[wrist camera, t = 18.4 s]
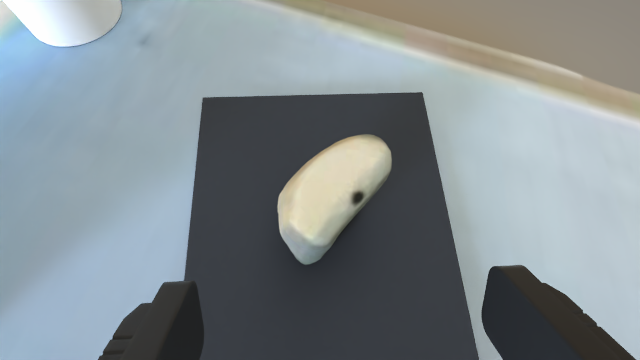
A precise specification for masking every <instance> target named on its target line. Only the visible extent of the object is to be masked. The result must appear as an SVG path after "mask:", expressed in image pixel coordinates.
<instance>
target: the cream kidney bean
mask: <svg viewBox="0 0 640 360" xmlns="http://www.w3.org/2000/svg"><path fill="white" fill-rule="evenodd" d="M391 165H392V157H391V151H390V149H389V148H388V146H387V144H386V143H385V142H384V141H383V140H382V139H381V138H379V137H377V136H375V135H370V134H364V135H357V136H352V137H348V138H346V139H343V140H340V141H338V142H336V143H334V144H333V145H331V146H330V147H328V148H326V149H325V150H323V151H321V152H320V153H319V154H317V155H316V156H314V157H313V158H312V159H311V160H309V161H308V162H307V163H306V164H305V165H304V166H302V167H301V169H300V170H299V171H298V172H297V173H296V174H295V175H294V176H293V177H292V178H291V179H290V180H289V181H288V182H287V184H286V185H285V187H284V189H283V190H282V192H281V193H280V195H279V199H278V213H279V229H280V234H281V236H282V238H283V240H284V241H285V243H286V244H287V245H288V247H289V248H290V251H291V252H292V253H293V255H294V256H295V258H296V259H297V260H298V261H300V262H301V263H303V264H305V265H307V264H312V263H314V262H316V261H318V260H320V259H321V258H322V257H323V255H324V254H325V253H326V252H327V250H329V249H330V248H331V246H332V245H333V243H334V241H335V240H336V239H337V238H338V236H339V235H340V234H341V233H342V232H343V230H344V229H345V228H346V227H347V226H348V224H349V223H350V222H351V221H352V219H353V218H354V217H355V215H356V214H357V213H358V212H359V211H360V210H361V209H362V208H363V207H364V206H365V205H366V203H367V202H368V201H369V200H370V199H371V198H372V197H373V196H374V194H375V193H376V192H377V191H378V190H379V189H380V187H381V186H382V185H383V183H384V182H385V181H386V180H387V178H388V176H389V174H390V171H391Z"/></svg>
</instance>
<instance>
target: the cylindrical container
mask: <svg viewBox="0 0 640 360" xmlns="http://www.w3.org/2000/svg"><path fill="white" fill-rule="evenodd" d="M3 1H4V2H5V4H6V5H7V6H8V7H9V8H10V9H11V10H12V11H13V12H14V14H15V15H16V16H17V17H18V18H19V19H20V20H21V21H22V22H23V24H24V25H25V26H26V27H27V28H28V29H29V30H30V31H31V32H32V33H33V35H34V36H35V37H36V38H37V39H39V40H40V41H42V42H44V43H46V44H49V45H53V46H61V47H69V46H77V45H82V44H86V43H89V42H91V41H94V40H96V39H98V38H100V37H101V36H103V35H105V34H106V33H107V32H108V31H110V30H111V29H112V28H113V27H114V26H115V24H116V23H117V21H118V20H119V18H120V15H121V12H122V4H121V0H3Z"/></svg>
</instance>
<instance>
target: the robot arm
mask: <svg viewBox="0 0 640 360" xmlns="http://www.w3.org/2000/svg"><path fill="white" fill-rule="evenodd" d="M482 323H483V326H484V329H485V332H486V334H487V336H488V337H489V339H490V340H491V342H492V343H493V345H494V346H495V348H496V349H497V351H498V353H499V354H500V356H501V357H502V359H503V360H636V359H635V358H634V357H633V356H631V355H630V354H629V353H628V352H627V351H626V350H625V349H624V348H623V347H622V346H621V345H620V344H618V343H617V342H616V341H615V340H614V339H613V338H612V337H611V336H610V335H609V334H608V333H607V332H606V331H604V330H603V329H602V328H601V327H598V326H597V323H596V322H595V321H594V320H593V319H591V318H590V317H589V316H588V315H587V314H584V313H583V310H582V309H581V308H580V307H578V306H577V305H576V304H575V303H574V302H573V301H572V300H571V299H570V298H569V297H568V296H567V295H565V294H563V293H562V292H560V291H558V290H556V289H555V288H553V287H551V286H550V285H548V284H546V283H541V282H540V281H539V280H538V279H537V278H536V277H535V276H534V275H533V274H532V273H531V272H530V271H529V270H528V269H527V268H526V267H524V266H522V265H512V266H494V267H492V268H491V269H490V271H489V274H488V279H487V285H486V290H485V296H484V301H483V306H482ZM203 344H204V324H203V318H202V312H201V306H200V300H199V294H198V288H197V285H196V282H195V281H179V282H165V283H163V284H162V286H161V287H160V289H159V291H158V293H157V294H156V296H155V298H154V300H153V301H152V303H143V304H140V305H139V306H138V307H137V308H136V309H135V310H133V311H132V312H131V313H130V314H129V315H128V316H126V317H125V318H124V319H123V321H122V322H121V324H120V326H119V327H118V329H117V330H116V332H115V333H114V335H113V339H112V340H110V341H109V343H108V344H107V346H106V348H105V349H104V351H103V355H102V356H100V357H99V359H98V360H200V356H201V353H202V349H203Z"/></svg>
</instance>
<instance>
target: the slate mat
mask: <svg viewBox="0 0 640 360" xmlns="http://www.w3.org/2000/svg"><path fill="white" fill-rule="evenodd" d="M364 134H370V135H375V136H377V137H379V138H381V139H382V140H383V141H384V142H385V143H386V144H387V146H388V148H389V149H390V151H391V157H392V165H391V171H390V174H389V176H388V178H387V180H386V181H385V182H384V183H383V185H382V186H381V187H380V189H379V190H378V191H377V192H376V193H375V194H374V196H373V197H372V198H371V199H370V200H369V201H368V202H367V203H366V205H365V206H364V207H363V208H362V209H361V210H360V211H359V212H358V213H357V214H356V215H355V217H354V218H353V219H352V221H351V222H350V223H349V224H348V226H347V227H346V228H345V229H344V230H343V232H342V233H341V234H340V235H339V236H338V238H337V239H336V240H335V241H334V243H333V245H332V246H331V248H330V249H329V250H327V252H326V253H325V254H324V255H323V257H322V258H321V259H320V260H318V261H316V262H314V263H312V264H307V265H305V264H303V263H301V262H300V261H298V260H297V259H296V258H295V256H294V255H293V253H292V252H291V251H290V248H289V247H288V245H287V244H286V243H285V241H284V240H283V238H282V236H281V234H280V229H279V213H278V199H279V195H280V193H281V192H282V190H283V189H284V187H285V185H286V184H287V182H288V181H289V180H290V179H291V178H292V177H293V176H294V175H295V174H296V173H297V172H298V171H299V170H300V169H301V167H302V166H304V165H305V164H306V163H307V162H308V161H309V160H311V159H312V158H313V157H314V156H316V155H317V154H319V153H320V152H321V151H323V150H325V149H326V148H328V147H330V146H331V145H333V144H334V143H336V142H338V141H340V140H343V139H346V138H348V137H352V136H357V135H364ZM184 281H195V282H196V285H197V288H198V294H199V300H200V306H201V312H202V318H203V324H204V344H203V349H202V353H201V356H200V360H479V358H478V353H477V349H476V344H475V339H474V334H473V330H472V325H471V320H470V315H469V311H468V306H467V301H466V297H465V292H464V287H463V282H462V278H461V273H460V268H459V263H458V259H457V254H456V249H455V245H454V240H453V235H452V230H451V226H450V221H449V216H448V211H447V207H446V202H445V197H444V192H443V188H442V183H441V178H440V174H439V169H438V164H437V159H436V155H435V150H434V145H433V140H432V136H431V131H430V126H429V122H428V117H427V112H426V107H425V103H424V98H423V93H422V92H419V93H378V94H336V95H294V96H253V97H211V98H203V103H202V112H201V122H200V132H199V142H198V152H197V161H196V171H195V181H194V191H193V201H192V210H191V220H190V230H189V240H188V250H187V260H186V269H185V279H184Z"/></svg>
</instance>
